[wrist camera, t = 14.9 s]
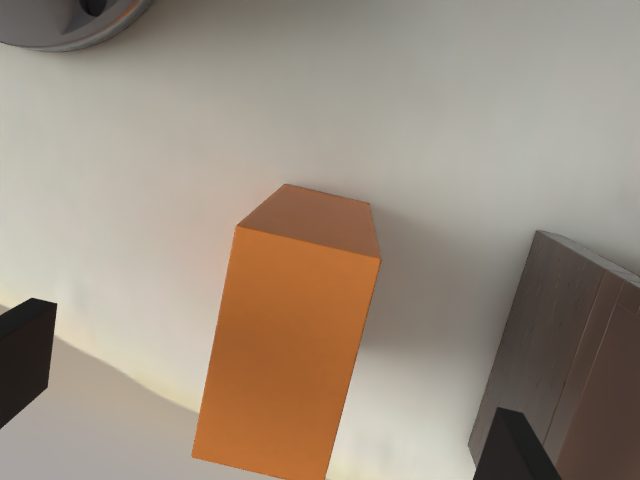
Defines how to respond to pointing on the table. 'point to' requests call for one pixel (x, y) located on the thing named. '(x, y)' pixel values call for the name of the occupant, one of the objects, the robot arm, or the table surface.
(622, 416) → the wooden bench
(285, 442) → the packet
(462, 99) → the table surface
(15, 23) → the robot arm
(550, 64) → the table surface
